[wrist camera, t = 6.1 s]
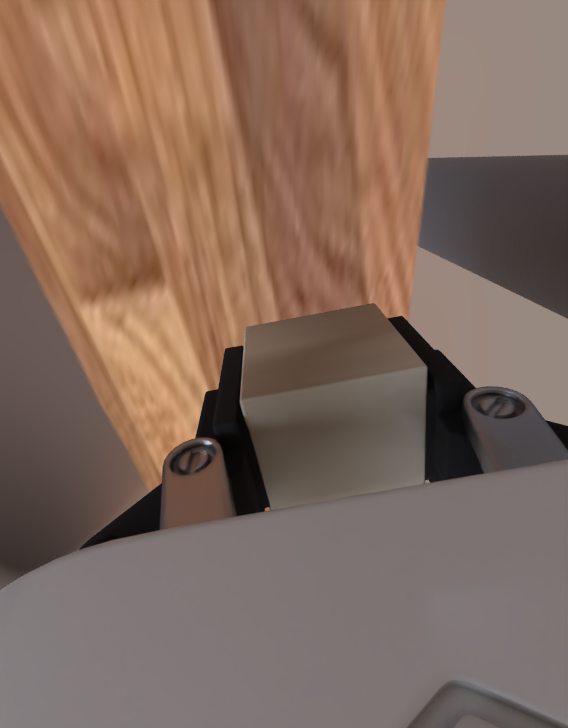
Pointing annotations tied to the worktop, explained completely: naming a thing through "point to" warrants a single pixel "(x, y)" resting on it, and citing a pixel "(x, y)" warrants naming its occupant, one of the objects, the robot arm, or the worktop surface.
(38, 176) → the worktop surface
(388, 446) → the block
